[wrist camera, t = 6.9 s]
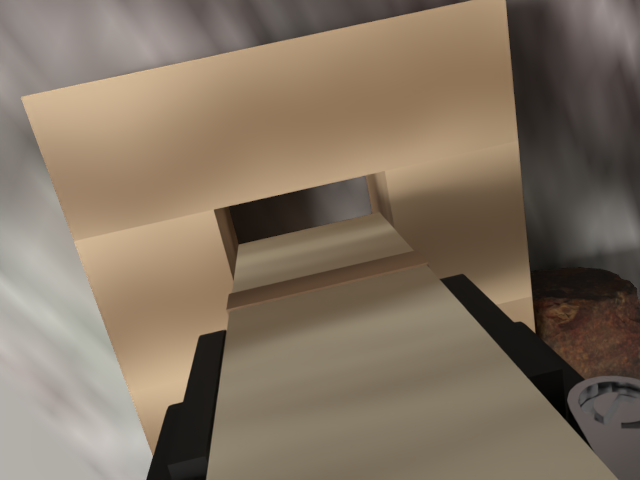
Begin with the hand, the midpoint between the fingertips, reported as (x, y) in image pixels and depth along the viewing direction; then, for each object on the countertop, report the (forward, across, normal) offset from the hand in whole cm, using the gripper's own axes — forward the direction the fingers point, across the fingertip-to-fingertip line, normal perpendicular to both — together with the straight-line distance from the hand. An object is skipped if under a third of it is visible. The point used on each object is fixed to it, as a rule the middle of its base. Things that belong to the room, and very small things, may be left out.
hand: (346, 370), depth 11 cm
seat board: (+10, 0, 0) cm, 10 cm away
